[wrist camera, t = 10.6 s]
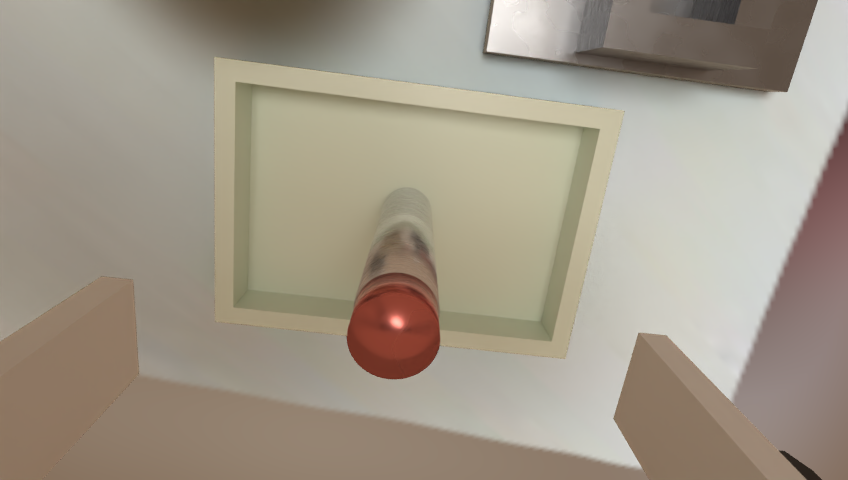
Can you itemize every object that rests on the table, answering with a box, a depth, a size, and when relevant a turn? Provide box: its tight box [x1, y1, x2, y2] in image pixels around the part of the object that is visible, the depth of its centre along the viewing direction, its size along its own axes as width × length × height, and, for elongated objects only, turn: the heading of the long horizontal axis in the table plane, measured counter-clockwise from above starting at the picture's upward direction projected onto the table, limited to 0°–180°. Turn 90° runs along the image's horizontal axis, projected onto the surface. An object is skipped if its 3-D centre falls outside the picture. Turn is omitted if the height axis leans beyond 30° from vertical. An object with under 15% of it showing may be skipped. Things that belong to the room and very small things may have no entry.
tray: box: [214, 57, 625, 359], centre depth 28 cm, size 20×14×3 cm
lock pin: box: [347, 187, 440, 379], centre depth 21 cm, size 3×3×15 cm
